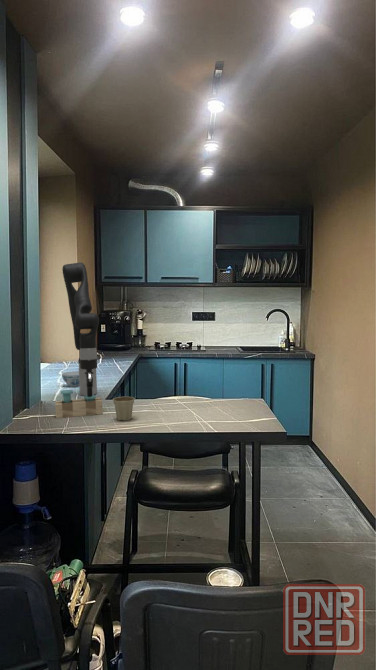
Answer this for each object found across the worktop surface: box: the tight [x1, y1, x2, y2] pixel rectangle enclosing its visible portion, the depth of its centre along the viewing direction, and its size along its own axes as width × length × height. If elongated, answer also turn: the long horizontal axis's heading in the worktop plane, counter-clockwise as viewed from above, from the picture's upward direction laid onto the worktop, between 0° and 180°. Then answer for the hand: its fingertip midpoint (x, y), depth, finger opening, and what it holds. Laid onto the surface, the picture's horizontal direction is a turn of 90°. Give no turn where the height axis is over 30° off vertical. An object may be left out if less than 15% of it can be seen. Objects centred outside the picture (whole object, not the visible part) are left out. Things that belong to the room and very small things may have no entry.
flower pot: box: [112, 396, 136, 421], centre depth 191 cm, size 9×9×9 cm
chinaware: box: [61, 370, 80, 388], centre depth 270 cm, size 15×15×8 cm
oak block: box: [54, 397, 104, 419], centre depth 201 cm, size 7×20×6 cm, turn 106°
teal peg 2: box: [83, 394, 97, 401], centre depth 202 cm, size 5×5×7 cm
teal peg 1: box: [60, 389, 74, 403], centre depth 199 cm, size 5×5×7 cm
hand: (89, 396), depth 202 cm, fingers closed
